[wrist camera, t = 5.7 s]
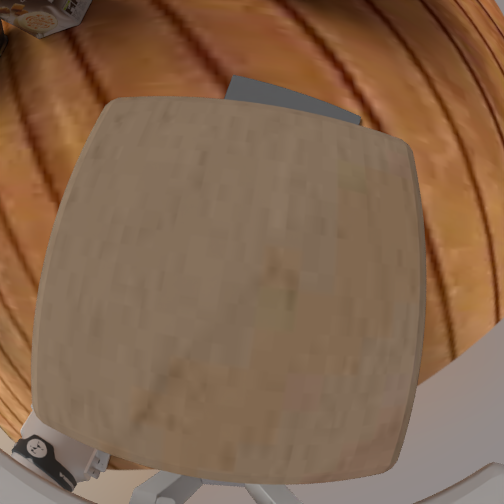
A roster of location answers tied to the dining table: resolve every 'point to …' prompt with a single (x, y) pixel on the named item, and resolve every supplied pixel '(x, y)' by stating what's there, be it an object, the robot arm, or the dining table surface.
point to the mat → (284, 99)
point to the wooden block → (234, 293)
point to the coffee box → (43, 15)
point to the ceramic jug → (2, 39)
